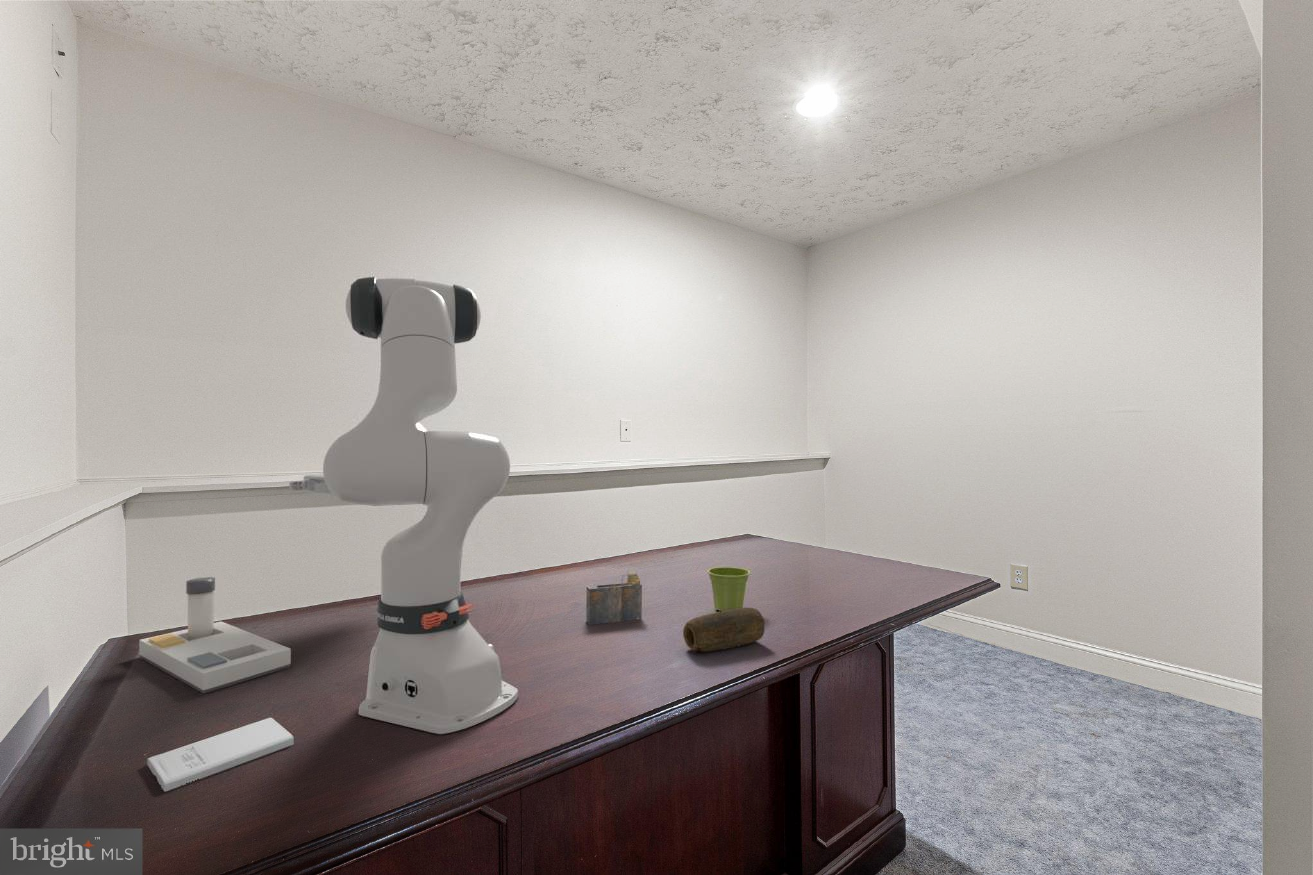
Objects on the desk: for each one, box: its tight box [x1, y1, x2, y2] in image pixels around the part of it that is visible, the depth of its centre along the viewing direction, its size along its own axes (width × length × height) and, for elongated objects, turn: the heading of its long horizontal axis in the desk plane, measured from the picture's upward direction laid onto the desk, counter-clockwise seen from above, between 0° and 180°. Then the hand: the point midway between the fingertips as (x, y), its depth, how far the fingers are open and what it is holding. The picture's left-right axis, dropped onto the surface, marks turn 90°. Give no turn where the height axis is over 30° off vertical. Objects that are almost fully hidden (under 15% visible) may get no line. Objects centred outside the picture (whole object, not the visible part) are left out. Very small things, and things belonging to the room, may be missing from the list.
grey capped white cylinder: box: [185, 576, 216, 641], centre depth 102 cm, size 4×4×12 cm
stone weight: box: [682, 607, 765, 653], centre depth 106 cm, size 15×7×7 cm, turn 120°
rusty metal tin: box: [585, 572, 643, 625], centre depth 122 cm, size 11×3×10 cm, turn 110°
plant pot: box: [707, 566, 751, 612], centre depth 129 cm, size 9×9×9 cm
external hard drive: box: [146, 717, 295, 793], centre depth 69 cm, size 2×8×12 cm
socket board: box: [138, 621, 292, 694], centre depth 97 cm, size 26×12×3 cm, turn 58°
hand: (302, 487), depth 115 cm, fingers open, 8 cm apart
